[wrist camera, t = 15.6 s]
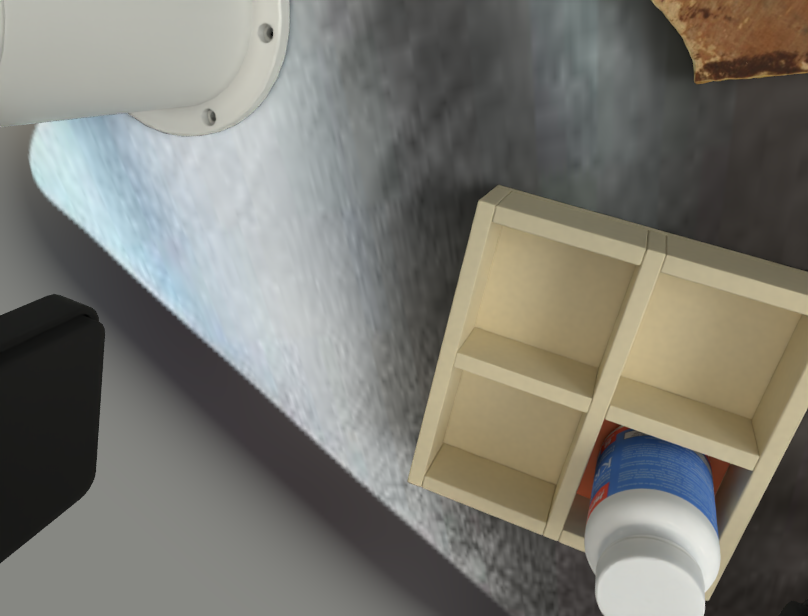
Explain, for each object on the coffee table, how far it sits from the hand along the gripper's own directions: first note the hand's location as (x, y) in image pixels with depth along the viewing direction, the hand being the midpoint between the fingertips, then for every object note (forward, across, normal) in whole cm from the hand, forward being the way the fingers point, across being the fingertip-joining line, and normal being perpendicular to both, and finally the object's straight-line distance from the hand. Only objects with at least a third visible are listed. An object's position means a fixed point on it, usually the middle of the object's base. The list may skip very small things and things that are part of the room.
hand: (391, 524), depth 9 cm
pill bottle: (+26, -8, +12) cm, 30 cm away
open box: (+26, -5, +9) cm, 28 cm away
